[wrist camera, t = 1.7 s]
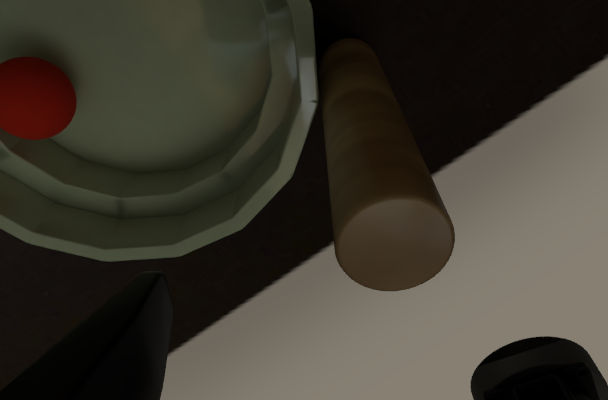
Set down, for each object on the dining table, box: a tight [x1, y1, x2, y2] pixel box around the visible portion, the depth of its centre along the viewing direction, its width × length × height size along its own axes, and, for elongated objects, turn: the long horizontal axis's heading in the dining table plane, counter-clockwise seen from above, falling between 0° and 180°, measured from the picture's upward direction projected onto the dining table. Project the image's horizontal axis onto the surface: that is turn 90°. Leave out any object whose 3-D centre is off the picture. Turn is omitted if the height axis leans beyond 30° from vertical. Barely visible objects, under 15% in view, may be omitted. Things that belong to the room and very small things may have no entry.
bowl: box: [0, 0, 319, 262], centre depth 17 cm, size 14×14×5 cm
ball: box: [0, 57, 77, 140], centre depth 18 cm, size 3×3×3 cm
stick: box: [319, 38, 455, 291], centre depth 15 cm, size 2×2×12 cm
